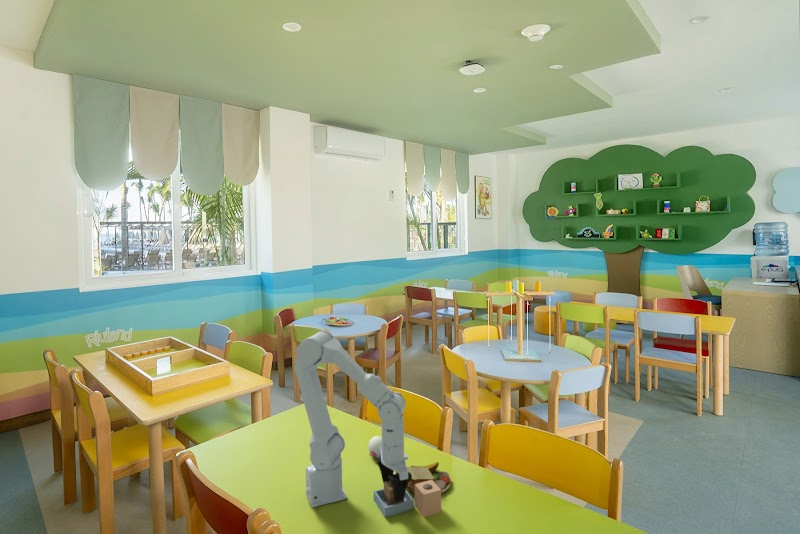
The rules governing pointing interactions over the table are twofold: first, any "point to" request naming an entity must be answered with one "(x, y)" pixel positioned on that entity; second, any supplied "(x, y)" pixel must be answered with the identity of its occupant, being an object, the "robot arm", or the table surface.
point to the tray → (395, 508)
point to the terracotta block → (427, 498)
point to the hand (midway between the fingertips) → (393, 492)
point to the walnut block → (389, 494)
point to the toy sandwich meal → (428, 476)
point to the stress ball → (375, 446)
